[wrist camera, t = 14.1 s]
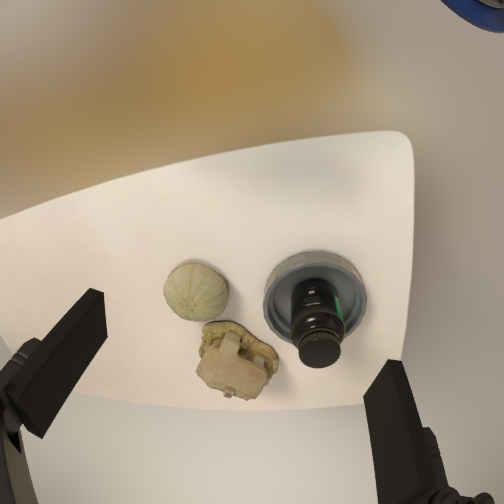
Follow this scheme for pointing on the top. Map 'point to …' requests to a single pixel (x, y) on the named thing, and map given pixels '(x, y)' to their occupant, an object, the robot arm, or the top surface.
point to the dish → (306, 268)
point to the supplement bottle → (316, 322)
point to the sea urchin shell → (195, 292)
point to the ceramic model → (235, 361)
